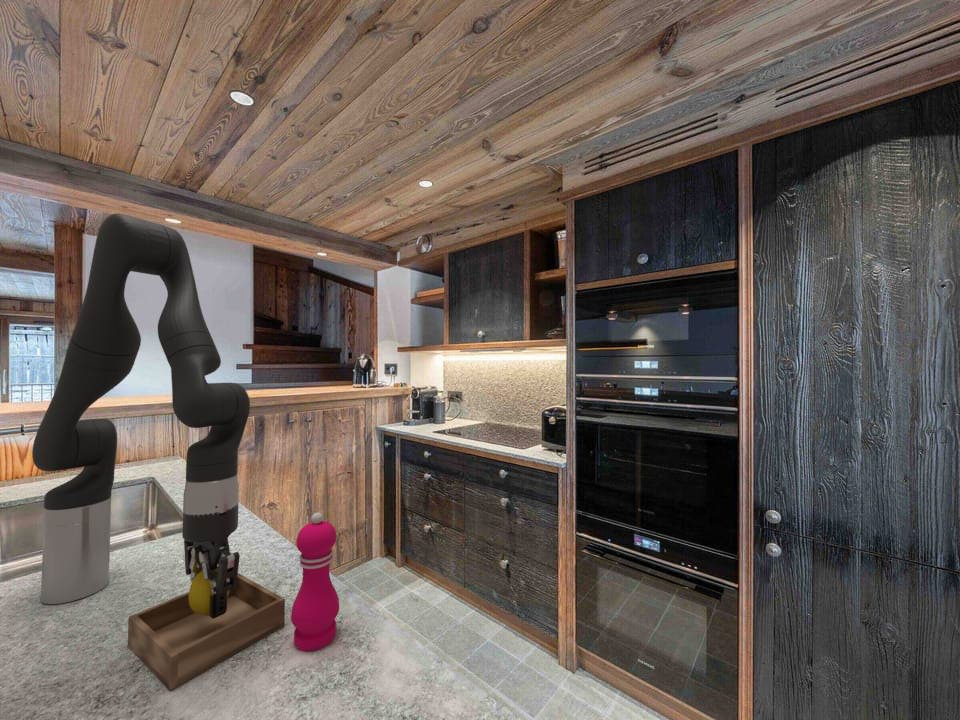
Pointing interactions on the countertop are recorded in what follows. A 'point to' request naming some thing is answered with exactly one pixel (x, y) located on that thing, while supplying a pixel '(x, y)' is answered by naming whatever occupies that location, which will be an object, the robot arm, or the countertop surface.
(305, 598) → the pepper mill
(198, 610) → the lemon
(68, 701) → the countertop surface
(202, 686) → the countertop surface
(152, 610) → the tray
